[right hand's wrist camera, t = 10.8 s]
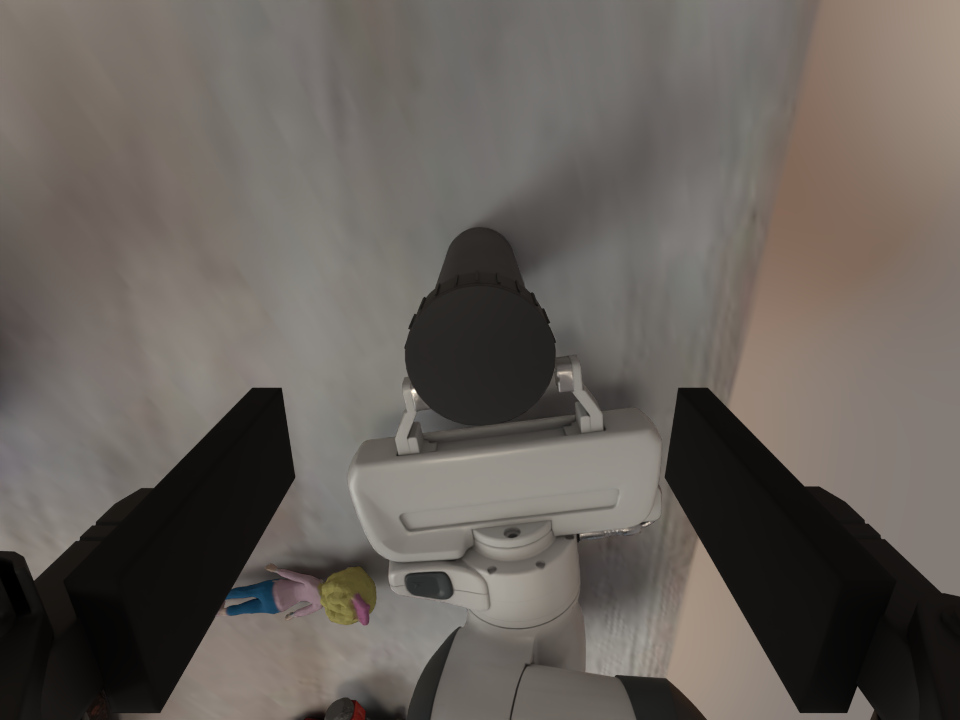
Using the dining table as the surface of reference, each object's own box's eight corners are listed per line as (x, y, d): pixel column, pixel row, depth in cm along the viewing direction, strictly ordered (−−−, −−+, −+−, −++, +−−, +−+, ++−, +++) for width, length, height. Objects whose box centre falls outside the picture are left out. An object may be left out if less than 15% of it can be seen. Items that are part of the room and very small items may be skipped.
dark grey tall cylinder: (522, 236, 35) (560, 310, 19) (504, 302, 37) (524, 423, 20) (454, 219, 35) (431, 278, 18) (439, 286, 37) (405, 397, 20)
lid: (567, 288, 20) (577, 304, 18) (528, 414, 22) (533, 441, 20) (426, 254, 20) (420, 266, 18) (399, 385, 22) (390, 410, 20)
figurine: (233, 609, 49) (389, 598, 47) (207, 652, 44) (377, 641, 43) (211, 559, 46) (374, 545, 45) (182, 599, 42) (359, 585, 41)
